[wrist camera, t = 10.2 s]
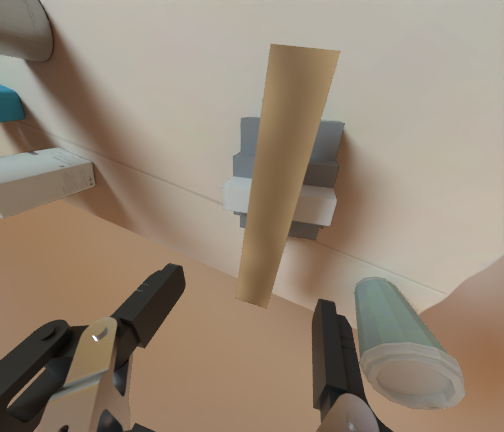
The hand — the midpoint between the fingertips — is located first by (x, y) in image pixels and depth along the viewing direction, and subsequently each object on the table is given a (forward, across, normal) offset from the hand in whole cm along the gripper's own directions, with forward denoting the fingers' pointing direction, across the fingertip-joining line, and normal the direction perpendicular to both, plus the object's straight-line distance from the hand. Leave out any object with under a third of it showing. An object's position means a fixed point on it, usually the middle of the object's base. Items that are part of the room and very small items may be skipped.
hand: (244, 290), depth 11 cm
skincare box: (+22, +43, +3) cm, 48 cm away
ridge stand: (+22, 0, 0) cm, 22 cm away
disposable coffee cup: (+22, -19, +19) cm, 35 cm away
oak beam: (+11, 0, 0) cm, 11 cm away
